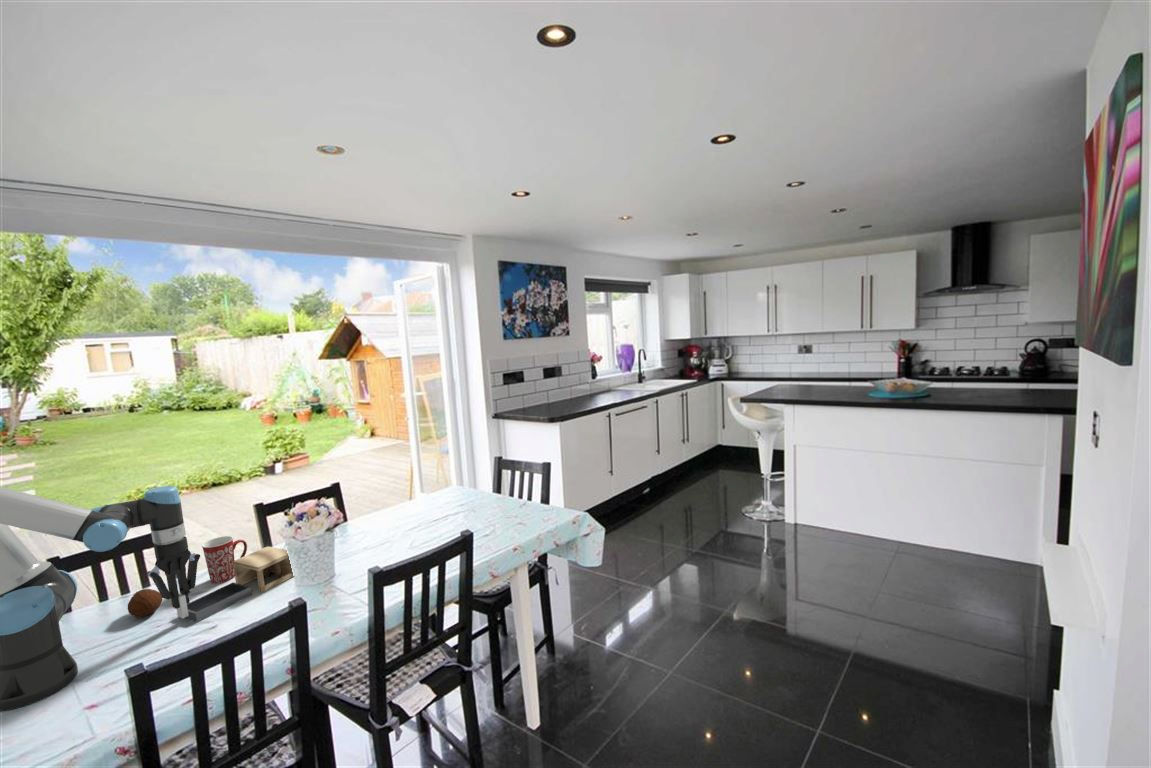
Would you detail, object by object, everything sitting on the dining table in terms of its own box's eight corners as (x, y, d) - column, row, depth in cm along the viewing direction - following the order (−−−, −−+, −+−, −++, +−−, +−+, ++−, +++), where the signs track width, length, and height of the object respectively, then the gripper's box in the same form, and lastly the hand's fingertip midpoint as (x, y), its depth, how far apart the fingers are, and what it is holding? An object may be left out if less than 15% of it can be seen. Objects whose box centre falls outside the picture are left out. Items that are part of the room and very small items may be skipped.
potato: (156, 601, 163) (153, 579, 162) (170, 610, 157) (167, 587, 156) (122, 615, 155) (118, 592, 155) (136, 625, 150) (132, 601, 149)
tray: (197, 623, 149) (195, 613, 149) (179, 617, 153) (178, 607, 153) (251, 596, 164) (250, 587, 163) (234, 591, 167) (233, 582, 167)
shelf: (261, 593, 164) (258, 567, 163) (236, 585, 170) (232, 561, 169) (295, 575, 175) (292, 551, 174) (270, 569, 181) (267, 546, 180)
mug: (208, 588, 170) (202, 549, 168) (205, 578, 177) (200, 541, 175) (252, 574, 178) (247, 537, 176) (248, 566, 185) (243, 530, 183)
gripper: (150, 551, 139) (164, 631, 142) (202, 532, 151) (214, 606, 154) (136, 547, 143) (150, 626, 146) (187, 529, 154) (200, 602, 157)
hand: (183, 616), depth 150 cm, fingers closed
